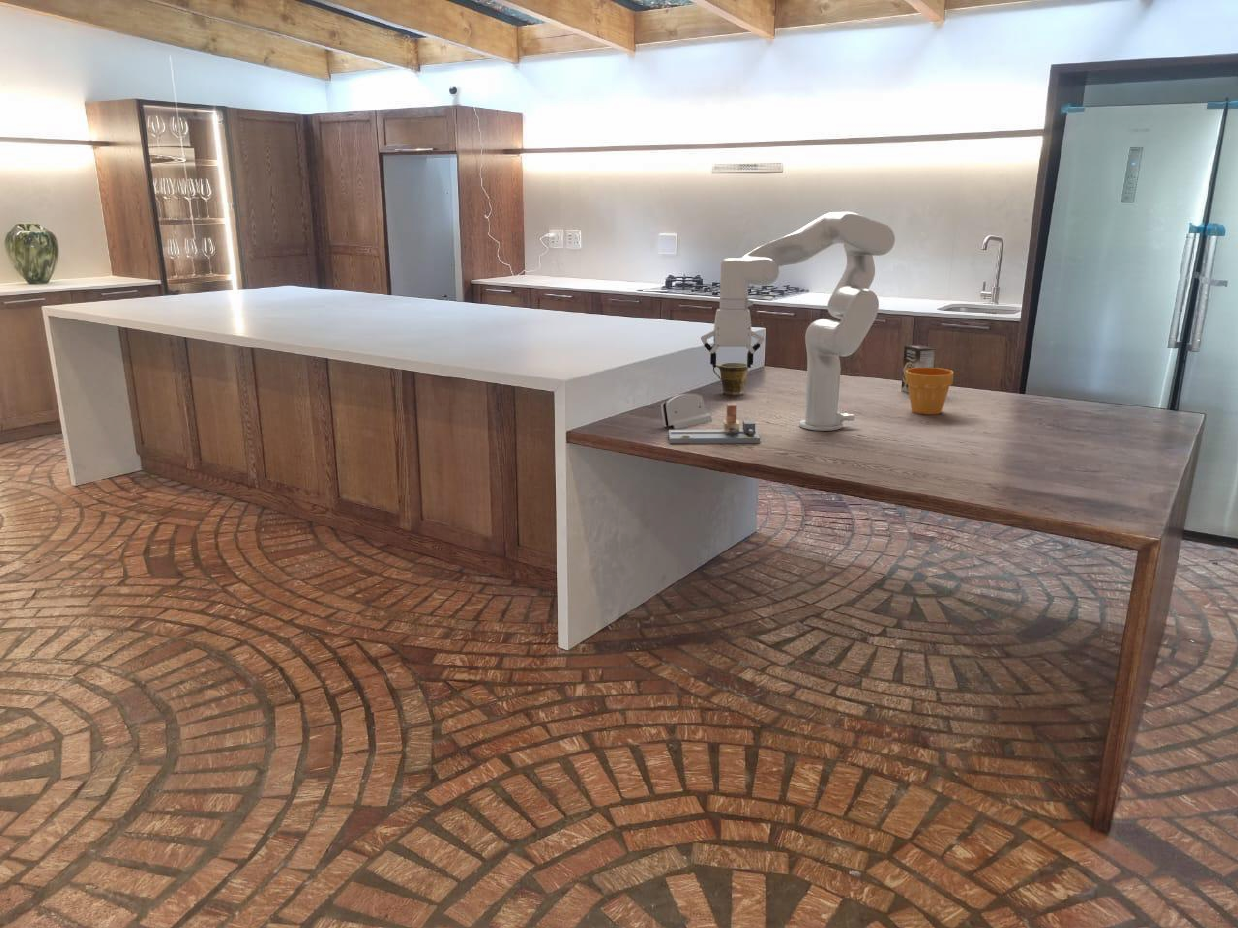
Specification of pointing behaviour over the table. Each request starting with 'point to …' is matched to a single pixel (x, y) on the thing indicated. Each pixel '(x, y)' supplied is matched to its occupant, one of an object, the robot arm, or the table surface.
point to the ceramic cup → (732, 377)
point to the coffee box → (916, 360)
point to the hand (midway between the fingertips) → (731, 367)
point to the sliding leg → (731, 420)
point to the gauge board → (716, 435)
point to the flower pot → (928, 389)
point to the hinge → (684, 411)
